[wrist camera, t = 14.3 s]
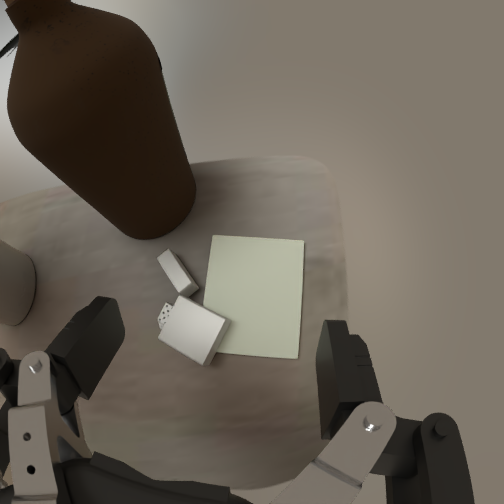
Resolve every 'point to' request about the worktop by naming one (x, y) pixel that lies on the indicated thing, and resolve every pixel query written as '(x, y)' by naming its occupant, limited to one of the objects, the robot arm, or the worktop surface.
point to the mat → (257, 294)
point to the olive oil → (99, 113)
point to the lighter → (189, 317)
